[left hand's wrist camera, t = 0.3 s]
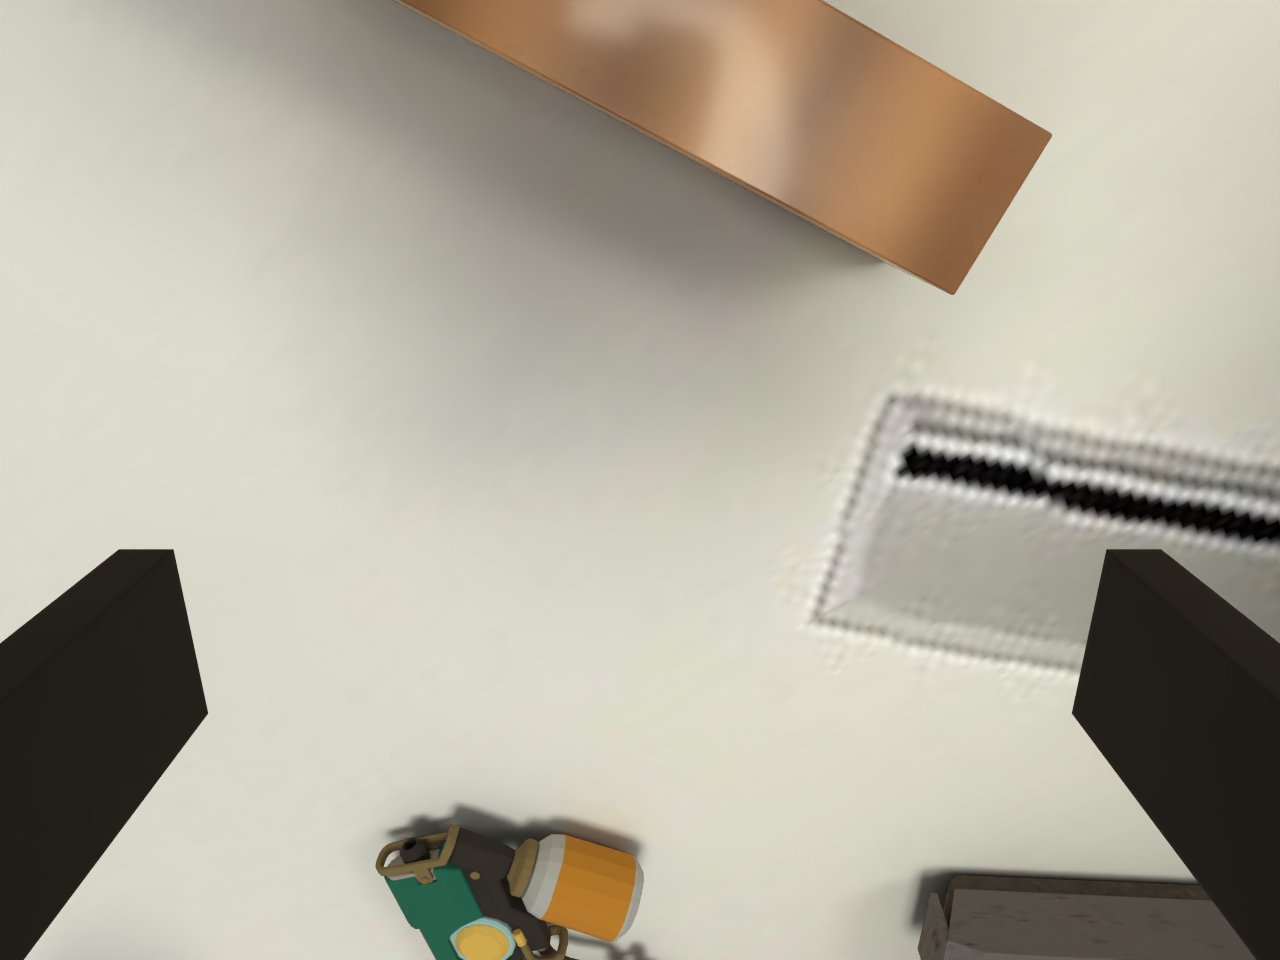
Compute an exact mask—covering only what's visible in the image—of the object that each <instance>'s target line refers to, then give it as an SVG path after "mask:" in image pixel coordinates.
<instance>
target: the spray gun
mask: <svg viewBox="0 0 1280 960" xmlns="http://www.w3.org/2000/svg"><path fill="white" fill-rule="evenodd" d="M459 829H460V827H459V826H456V825H453V824H451V825H450V827H449V829H448V831H447V832H445V833H439V834H434V835H429V836H423V837H418V838H410V839H407V840H402V841H397V842H393V843H390V844H388V845H386V846H385V847H384V848H383V849H382V850H381V852H380V853H379V856H378V859H377V861H376V869H377V871H378V873H379V874H380V875H381V876H384V878H385V880H386V882H387V884H388V886H389V888H390V889H391V891H392V893H393V895H394V897H395V899H396V901H397V902H398V904H399V906H400V908H401V910H402V912H403V914H404V915H405V917H406V919H407V921H408V923H409V924H410V925H411V926H412V927H413V928H415V929H420V931H421V933H422V935H423V937H424V938H425V940H426V942H427V944H428V946H429V948H430V949H431V951H432V953H433V955H434V957H435V959H436V960H521V959H522V958H523V957H525V958H526V959H527V960H578V959H573V958H570V957H567V956H565V953H566V949H567V945H568V930H567V929H566V928H569V929H572V930H575V931H578V932H581V933H584V934H587V935H591V936H594V937H597V938H600V939H603V940H606V941H616V940H618V939H619V938H620V937H621V936H623V935H624V934H625V933H626V932H627V931H628V930H629V928H630V927H631V925H632V923H633V921H634V919H635V916H636V913H637V910H638V907H639V903H640V898H641V894H642V888H643V882H644V878H643V871H642V869H641V867H640V865H639V863H638V861H637V859H636V857H635V856H634V855H631V854H628V853H625V852H621V851H618V850H615V849H611V848H608V847H605V846H601V845H598V844H595V843H591V842H588V841H585V840H581V839H578V838H574V837H571V836H568V835H564V834H551V835H549V836H548V837H546V838H544V839H543V840H541V841H539V842H537V840H534V839H531V838H529V839H527V840H526V841H525V842H524V843H523V844H522V845H521V846H520V847H519V848H518V849H516V850H513V849H512V848H510V847H508V846H507V845H504V844H501V843H499V842H496V841H493V840H491V839H488V838H486V837H483V836H480V835H478V834H475V833H472V832H470V831H467V830H464V829H460V830H459ZM442 841H446V842H445V843H442V844H441V847H440V849H439V847H438V845H437V842H442ZM400 849H401V850H400ZM396 850H400V856H398V857H396V858H395V859H394V860H392V861H391V863H390V864H389V865H388V866H387V867H383V866H384V864H385V861H386V858H387V857H388V855H389V854H390V853H392V852H393V851H396ZM506 876H507V878H506ZM507 879H508V880H507ZM545 921H547V922H550V923H553V924H556V925H553V926H549V927H547V925H546V923H545ZM565 927H566V928H565ZM556 934H558V935H560V938H559V946H558V951H556V950H554V949H553V948H552V946H551V945H550V938H551V936H552V935H556ZM535 950H536V951H539V953H540V954H541V955H542V957H539V956H536V955H534V954H533V952H532V951H535Z"/></svg>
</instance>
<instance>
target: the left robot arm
mask: <svg viewBox="0 0 1280 960" xmlns="http://www.w3.org/2000/svg"><path fill="white" fill-rule="evenodd" d="M207 714H208V710H207V706H206V701H205V696H204V692H203V687H202V682H201V677H200V673H199V668H198V663H197V658H196V654H195V649H194V644H193V640H192V635H191V630H190V625H189V621H188V616H187V611H186V606H185V602H184V597H183V592H182V588H181V583H180V578H179V573H178V569H177V564H176V559H175V555H174V550H173V549H119V550H118V551H116V552H115V553H114V554H113V555H111V556H110V557H109V558H108V559H106V560H105V561H104V562H102V563H101V564H100V565H99V566H97V567H96V568H95V569H94V570H92V571H91V572H90V573H89V574H87V575H86V576H85V577H84V578H82V579H81V580H80V581H79V582H77V583H76V584H75V585H73V586H72V587H71V588H70V589H68V590H67V591H66V592H65V593H63V594H62V595H61V596H60V597H58V598H57V599H56V600H55V601H53V602H52V603H51V604H49V605H48V606H47V607H46V608H44V609H43V610H42V611H41V612H39V613H38V614H37V615H36V616H34V617H33V618H32V619H31V620H29V621H28V622H27V623H25V624H24V625H23V626H22V627H20V628H19V629H18V630H17V631H15V632H14V633H13V634H12V635H10V636H9V637H8V638H7V639H5V640H4V641H3V642H2V643H0V960H24V959H25V957H26V956H27V955H28V953H29V952H30V951H31V949H32V948H33V947H34V945H35V944H36V943H37V941H38V940H39V939H40V937H41V936H42V935H43V933H44V932H45V931H46V929H47V928H48V927H49V925H50V924H51V923H52V921H53V920H54V919H55V917H56V916H57V915H58V913H59V912H60V911H61V909H62V908H63V907H64V905H65V904H66V903H67V901H68V900H69V899H70V897H71V896H72V895H73V893H74V892H75V891H76V889H77V888H78V887H79V885H80V884H81V882H82V881H83V880H84V878H85V877H86V876H87V874H88V873H89V872H90V870H91V869H92V868H93V866H94V865H95V864H96V862H97V861H98V860H99V858H100V857H101V856H102V854H103V853H104V852H105V850H106V849H107V848H108V846H109V845H110V844H111V842H112V841H113V840H114V838H115V837H116V836H117V834H118V833H119V832H120V830H121V829H122V828H123V826H124V825H125V824H126V822H127V821H128V820H129V818H130V817H131V816H132V814H133V813H134V812H135V810H136V809H137V808H138V806H139V805H140V804H141V802H142V801H143V800H144V798H145V797H146V796H147V794H148V793H149V792H150V790H151V789H152V788H153V786H154V785H155V784H156V782H157V781H158V780H159V778H160V777H161V776H162V774H163V773H164V772H165V770H166V769H167V768H168V766H169V765H170V764H171V762H172V761H173V760H174V758H175V757H176V756H177V754H178V753H179V752H180V750H181V749H182V748H183V746H184V745H185V744H186V742H187V741H188V740H189V738H190V737H191V736H192V734H193V733H194V732H195V730H196V729H197V728H198V726H199V725H200V724H201V722H202V721H203V720H204V718H205V717H206V716H207ZM1072 714H1073V716H1074V717H1075V718H1076V720H1077V721H1078V722H1079V724H1080V725H1081V726H1082V728H1083V729H1084V730H1085V732H1086V733H1087V734H1088V736H1089V737H1090V738H1091V740H1092V741H1093V742H1094V744H1095V745H1096V746H1097V748H1098V749H1099V750H1100V752H1101V753H1102V754H1103V756H1104V757H1105V758H1106V760H1107V761H1108V762H1109V764H1110V765H1111V766H1112V768H1113V769H1114V770H1115V772H1116V773H1117V774H1118V776H1119V777H1120V778H1121V780H1122V781H1123V782H1124V784H1125V785H1126V786H1127V788H1128V789H1129V790H1130V792H1131V793H1132V794H1133V796H1134V797H1135V798H1136V800H1137V801H1138V802H1139V804H1140V805H1141V806H1142V808H1143V809H1144V810H1145V812H1146V813H1147V814H1148V816H1149V817H1150V818H1151V820H1152V821H1153V822H1154V824H1155V825H1156V826H1157V828H1158V829H1159V830H1160V832H1161V833H1162V834H1163V836H1164V837H1165V838H1166V840H1167V841H1168V842H1169V844H1170V845H1171V846H1172V848H1173V849H1174V850H1175V852H1176V853H1177V854H1178V856H1179V857H1180V858H1181V860H1182V861H1183V862H1184V864H1185V865H1186V866H1187V868H1188V869H1189V870H1190V872H1191V873H1192V874H1193V876H1194V877H1195V878H1196V880H1197V881H1198V883H1199V884H1200V885H1201V887H1202V888H1203V889H1204V891H1205V892H1206V893H1207V895H1208V896H1209V897H1210V899H1211V900H1212V901H1213V903H1214V904H1215V905H1216V907H1217V908H1218V909H1219V911H1220V912H1221V913H1222V915H1223V916H1224V917H1225V919H1226V920H1227V921H1228V923H1229V924H1230V925H1231V927H1232V928H1233V929H1234V931H1235V932H1236V933H1237V935H1238V936H1239V937H1240V939H1241V940H1242V941H1243V943H1244V944H1245V945H1246V947H1247V948H1248V949H1249V951H1250V952H1251V953H1252V955H1253V956H1254V957H1255V959H1256V960H1280V643H1278V642H1277V641H1276V640H1275V639H1273V638H1272V637H1271V636H1270V635H1268V634H1267V633H1266V632H1265V631H1263V630H1262V629H1261V628H1260V627H1258V626H1257V625H1256V624H1255V623H1253V622H1252V621H1251V620H1249V619H1248V618H1247V617H1246V616H1244V615H1243V614H1242V613H1241V612H1239V611H1238V610H1237V609H1236V608H1234V607H1233V606H1232V605H1231V604H1229V603H1228V602H1227V601H1225V600H1224V599H1223V598H1222V597H1220V596H1219V595H1218V594H1217V593H1215V592H1214V591H1213V590H1212V589H1210V588H1209V587H1208V586H1207V585H1205V584H1204V583H1203V582H1201V581H1200V580H1199V579H1198V578H1196V577H1195V576H1194V575H1193V574H1191V573H1190V572H1189V571H1188V570H1186V569H1185V568H1184V567H1183V566H1181V565H1180V564H1179V563H1178V562H1176V561H1175V560H1174V559H1172V558H1171V557H1170V556H1169V555H1167V554H1166V553H1165V552H1164V551H1162V550H1161V549H1107V550H1106V555H1105V559H1104V564H1103V569H1102V573H1101V578H1100V583H1099V588H1098V592H1097V597H1096V602H1095V606H1094V611H1093V616H1092V621H1091V625H1090V630H1089V635H1088V640H1087V644H1086V649H1085V654H1084V658H1083V663H1082V668H1081V673H1080V677H1079V682H1078V687H1077V692H1076V696H1075V701H1074V706H1073V710H1072Z"/></svg>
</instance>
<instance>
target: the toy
mask: <svg viewBox="0 0 1280 960" xmlns="http://www.w3.org/2000/svg"><path fill="white" fill-rule="evenodd" d="M918 951H919V954H920V958H921V960H1256V959H1255V957H1254V956H1253V955H1252V953H1251V952H1250V951H1249V949H1248V948H1247V947H1246V945H1245V944H1244V943H1243V941H1242V940H1241V939H1240V937H1239V936H1238V935H1237V933H1236V932H1235V931H1234V929H1233V928H1232V927H1231V925H1230V924H1229V923H1228V921H1227V920H1226V919H1225V917H1224V916H1223V915H1222V913H1221V912H1220V911H1219V909H1218V908H1217V907H1216V905H1215V904H1214V903H1213V901H1212V900H1211V899H1210V897H1209V896H1208V895H1207V893H1206V892H1205V891H1204V889H1203V888H1202V887H1201V885H1181V884H1157V883H1134V882H1110V881H1087V880H1064V879H1040V878H1017V877H993V876H970V875H957V876H955V877H954V878H953V879H952V880H951V882H950V884H949V887H948V891H947V895H946V899H945V904H944V908H943V910H942V907H941V904H940V901H939V898H938V895H937V893H931V894H930V898H929V902H928V906H927V911H926V915H925V919H924V924H923V928H922V932H921V936H920V941H919V945H918Z"/></svg>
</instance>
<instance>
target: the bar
mask: <svg viewBox="0 0 1280 960" xmlns="http://www.w3.org/2000/svg"><path fill="white" fill-rule="evenodd" d="M393 1H395V2H397V3H399V4H400V5H402V6H404V7H406V8H408V9H410V10H412V11H414V12H416V13H417V14H419V15H421V16H423V17H425V18H427V19H429V20H431V21H432V22H434V23H436V24H438V25H440V26H442V27H444V28H446V29H447V30H449V31H451V32H453V33H455V34H457V35H459V36H461V37H462V38H464V39H466V40H468V41H470V42H472V43H474V44H476V45H477V46H479V47H481V48H483V49H485V50H487V51H489V52H491V53H492V54H494V55H496V56H498V57H500V58H502V59H504V60H506V61H508V62H509V63H511V64H513V65H515V66H517V67H519V68H521V69H523V70H524V71H526V72H528V73H530V74H532V75H534V76H536V77H538V78H539V79H541V80H543V81H545V82H547V83H549V84H551V85H553V86H554V87H556V88H558V89H560V90H562V91H564V92H566V93H568V94H569V95H571V96H573V97H575V98H577V99H579V100H581V101H583V102H584V103H586V104H588V105H590V106H592V107H594V108H596V109H598V110H599V111H601V112H603V113H605V114H607V115H609V116H611V117H613V118H615V119H616V120H618V121H620V122H622V123H624V124H626V125H628V126H630V127H631V128H633V129H635V130H637V131H639V132H641V133H643V134H645V135H646V136H648V137H650V138H652V139H654V140H656V141H658V142H660V143H661V144H663V145H665V146H667V147H669V148H671V149H673V150H675V151H676V152H678V153H680V154H682V155H684V156H686V157H688V158H690V159H691V160H693V161H695V162H697V163H699V164H701V165H703V166H705V167H707V168H708V169H710V170H712V171H714V172H716V173H718V174H720V175H722V176H723V177H725V178H727V179H729V180H731V181H733V182H735V183H737V184H738V185H740V186H742V187H744V188H746V189H748V190H750V191H752V192H753V193H755V194H757V195H759V196H761V197H763V198H765V199H767V200H768V201H770V202H772V203H774V204H776V205H778V206H780V207H782V208H783V209H785V210H787V211H789V212H791V213H793V214H795V215H797V216H798V217H800V218H802V219H804V220H806V221H808V222H810V223H812V224H814V225H815V226H817V227H819V228H821V229H823V230H825V231H827V232H829V233H830V234H832V235H834V236H836V237H838V238H840V239H842V240H844V241H845V242H847V243H849V244H851V245H853V246H855V247H857V248H859V249H860V250H862V251H864V252H866V253H868V254H870V255H872V256H874V257H875V258H877V259H879V260H881V261H883V262H885V263H887V264H889V265H891V266H893V267H895V268H897V269H899V270H901V271H903V272H905V273H908V274H910V275H912V276H914V277H916V278H918V279H920V280H922V281H924V282H926V283H928V284H930V285H932V286H934V287H936V288H938V289H941V290H943V291H945V292H947V293H949V294H951V295H954V294H955V293H956V291H957V289H958V288H959V286H960V284H961V283H962V281H963V280H964V278H965V276H966V275H967V273H968V271H969V270H970V268H971V267H972V265H973V263H974V262H975V260H976V259H977V257H978V255H979V254H980V252H981V250H982V249H983V247H984V246H985V244H986V242H987V241H988V239H989V237H990V236H991V234H992V233H993V231H994V229H995V228H996V226H997V224H998V223H999V221H1000V220H1001V218H1002V216H1003V215H1004V213H1005V211H1006V210H1007V208H1008V207H1009V205H1010V203H1011V202H1012V200H1013V198H1014V197H1015V195H1016V194H1017V192H1018V190H1019V189H1020V187H1021V186H1022V184H1023V182H1024V181H1025V179H1026V177H1027V176H1028V174H1029V173H1030V171H1031V169H1032V168H1033V166H1034V164H1035V163H1036V161H1037V160H1038V158H1039V156H1040V155H1041V153H1042V151H1043V150H1044V148H1045V147H1046V145H1047V143H1048V142H1049V140H1050V138H1051V137H1052V134H1051V133H1050V132H1048V131H1046V130H1045V129H1043V128H1041V127H1039V126H1038V125H1036V124H1034V123H1033V122H1031V121H1029V120H1027V119H1026V118H1024V117H1022V116H1020V115H1019V114H1017V113H1015V112H1014V111H1012V110H1010V109H1008V108H1007V107H1005V106H1003V105H1002V104H1000V103H998V102H996V101H995V100H993V99H991V98H989V97H988V96H986V95H984V94H983V93H981V92H979V91H977V90H976V89H974V88H972V87H971V86H969V85H967V84H965V83H964V82H962V81H960V80H958V79H957V78H955V77H953V76H952V75H950V74H948V73H946V72H945V71H943V70H941V69H940V68H938V67H936V66H934V65H933V64H931V63H929V62H927V61H926V60H924V59H922V58H921V57H919V56H917V55H915V54H914V53H912V52H910V51H909V50H907V49H905V48H903V47H902V46H900V45H898V44H896V43H895V42H893V41H891V40H890V39H888V38H886V37H884V36H883V35H881V34H879V33H877V32H876V31H874V30H872V29H871V28H869V27H867V26H865V25H864V24H862V23H860V22H859V21H857V20H855V19H853V18H852V17H850V16H848V15H846V14H845V13H843V12H841V11H840V10H838V9H836V8H834V7H833V6H831V5H829V4H828V3H826V2H824V1H822V0H393Z"/></svg>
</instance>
